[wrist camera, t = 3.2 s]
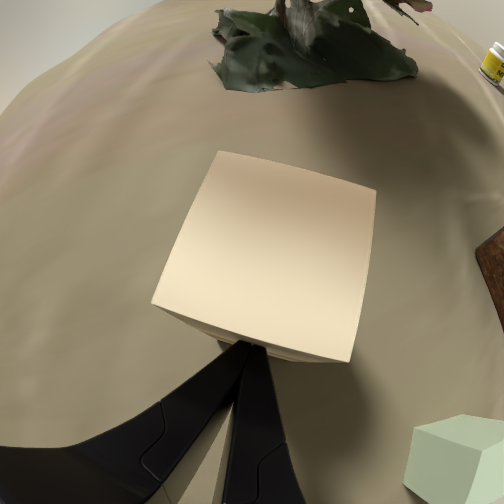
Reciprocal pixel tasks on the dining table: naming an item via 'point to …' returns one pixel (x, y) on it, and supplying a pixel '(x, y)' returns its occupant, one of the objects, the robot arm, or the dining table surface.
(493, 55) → the supplement bottle
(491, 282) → the brick
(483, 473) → the sage block
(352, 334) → the maple block
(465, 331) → the dining table surface
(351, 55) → the rose bouquet
